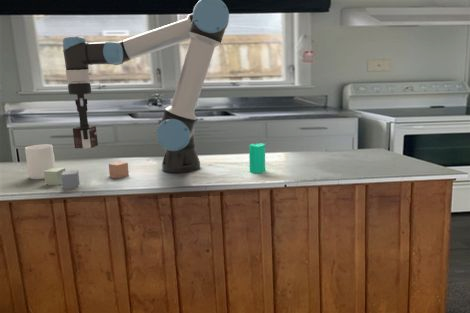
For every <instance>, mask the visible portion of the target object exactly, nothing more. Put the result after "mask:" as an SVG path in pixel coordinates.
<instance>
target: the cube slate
mask: <svg viewBox="0 0 470 313" xmlns="http://www.w3.org/2000/svg"><path fill="white" fill-rule="evenodd" d="M79 175H80V174H79V170H78V169H77V170H65V171H63V172H62V174H61V178H62V184H61V185H62V190H65V188H66V189H75V188H79V186H80V183H81V182H80V176H79Z"/></svg>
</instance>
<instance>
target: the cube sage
mask: <svg viewBox="0 0 470 313" xmlns="http://www.w3.org/2000/svg"><path fill="white" fill-rule="evenodd" d="M63 171H66V168H65V167H55V168H51V169H49V170H46V171H44V175H45V179H44V182H45V186H60V185H62V184H61V183H62V178H61V174H62V172H63ZM47 184H48V185H47ZM59 184H60V185H59Z"/></svg>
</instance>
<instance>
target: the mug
mask: <svg viewBox="0 0 470 313" xmlns="http://www.w3.org/2000/svg"><path fill="white" fill-rule="evenodd" d="M24 152H25V153H24V154H25V158H26V160H25V161H26V168H27V174H28V178H29V179H31V180H45V175H44V171H46V170H49V169H51V168H56V165H55V161H56V160H55V159H56V158H55V154H54V147H53V144H45V143H43V144H42V143H41V144H35V145H34V144H33V145H28V146H24Z"/></svg>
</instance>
